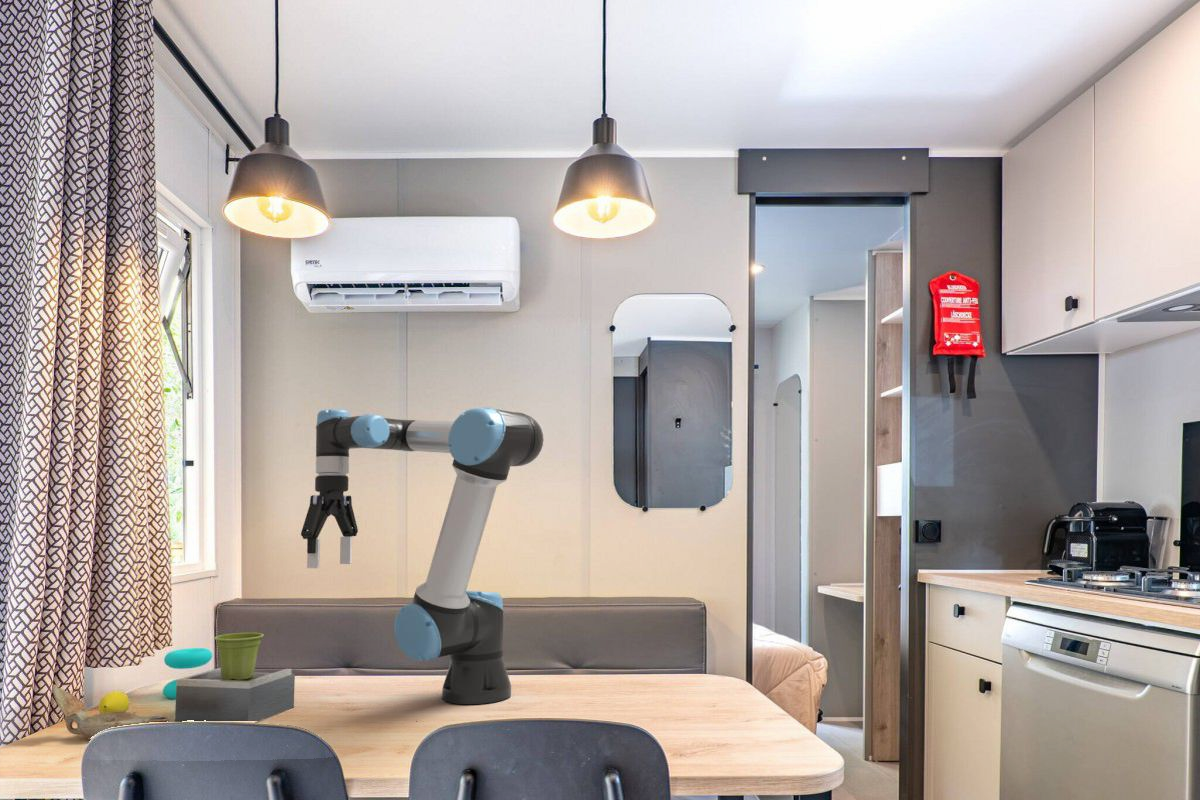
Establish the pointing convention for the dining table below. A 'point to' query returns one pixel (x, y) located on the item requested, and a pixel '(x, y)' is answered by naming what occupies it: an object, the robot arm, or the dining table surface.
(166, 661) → the donuts
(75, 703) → the oil lamp
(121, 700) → the lemon
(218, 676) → the gray open-top box
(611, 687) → the dining table surface
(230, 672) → the plant pot
